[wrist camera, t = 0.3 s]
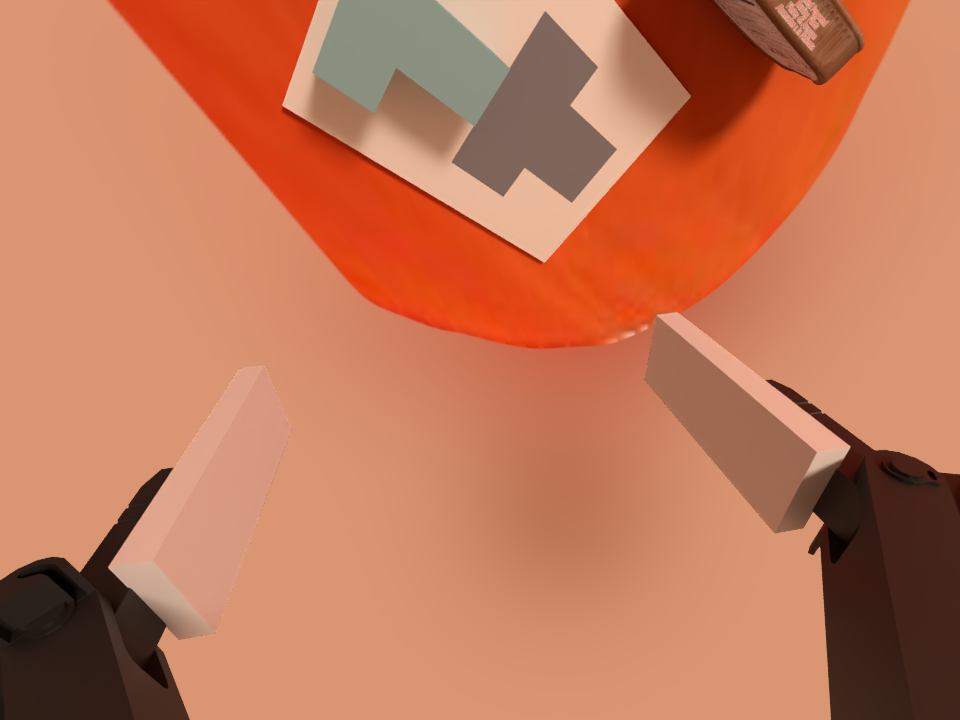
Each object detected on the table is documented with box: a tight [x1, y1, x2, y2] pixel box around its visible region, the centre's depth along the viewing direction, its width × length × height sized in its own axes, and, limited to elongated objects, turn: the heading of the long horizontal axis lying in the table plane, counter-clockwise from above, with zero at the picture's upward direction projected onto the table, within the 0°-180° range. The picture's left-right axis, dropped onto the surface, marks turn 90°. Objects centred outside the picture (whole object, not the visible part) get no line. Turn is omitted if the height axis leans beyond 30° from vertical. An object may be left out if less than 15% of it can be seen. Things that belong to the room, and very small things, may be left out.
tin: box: [712, 0, 865, 85], centre depth 26 cm, size 15×3×8 cm, turn 61°
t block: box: [312, 0, 510, 127], centre depth 26 cm, size 10×10×4 cm
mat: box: [282, 0, 691, 263], centre depth 31 cm, size 18×26×1 cm
